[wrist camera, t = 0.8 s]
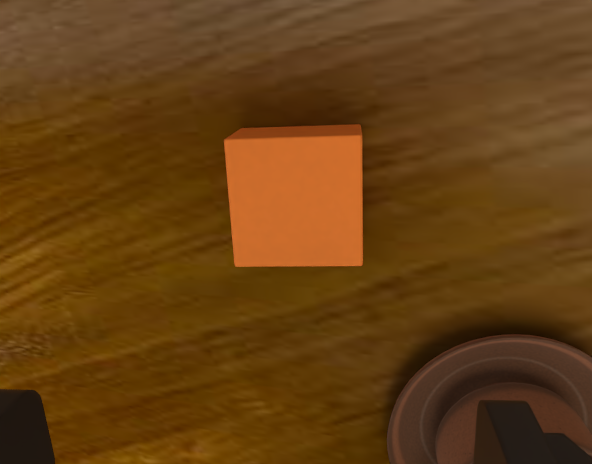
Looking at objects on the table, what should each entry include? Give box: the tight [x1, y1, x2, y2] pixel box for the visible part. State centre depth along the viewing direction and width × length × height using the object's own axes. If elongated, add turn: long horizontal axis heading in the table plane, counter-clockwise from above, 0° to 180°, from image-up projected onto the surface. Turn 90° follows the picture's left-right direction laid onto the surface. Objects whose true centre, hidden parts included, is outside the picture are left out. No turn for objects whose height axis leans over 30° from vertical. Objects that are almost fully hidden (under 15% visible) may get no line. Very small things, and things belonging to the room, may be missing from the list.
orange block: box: [224, 124, 363, 267], centre depth 24 cm, size 6×6×4 cm
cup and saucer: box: [387, 334, 592, 464], centre depth 26 cm, size 12×12×6 cm
